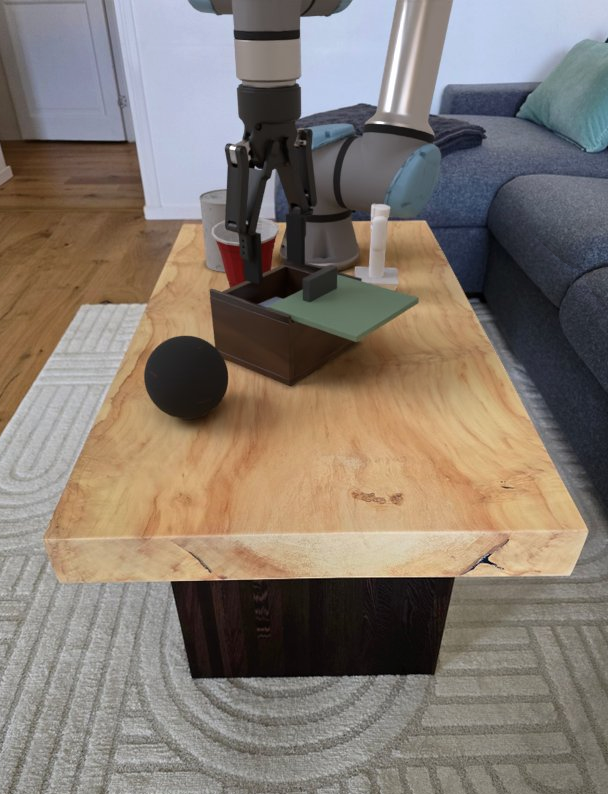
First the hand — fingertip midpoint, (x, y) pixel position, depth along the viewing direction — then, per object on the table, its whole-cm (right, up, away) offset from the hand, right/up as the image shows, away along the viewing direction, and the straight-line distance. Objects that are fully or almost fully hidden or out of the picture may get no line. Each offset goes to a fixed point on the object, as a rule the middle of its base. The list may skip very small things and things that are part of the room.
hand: (275, 271), depth 87 cm
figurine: (+16, +2, +21) cm, 27 cm away
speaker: (-10, -20, -8) cm, 24 cm away
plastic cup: (-5, +1, +21) cm, 21 cm away
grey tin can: (-10, +11, +34) cm, 37 cm away
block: (0, -8, +6) cm, 10 cm away
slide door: (+9, -6, -5) cm, 12 cm away
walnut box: (+2, -10, +6) cm, 11 cm away
